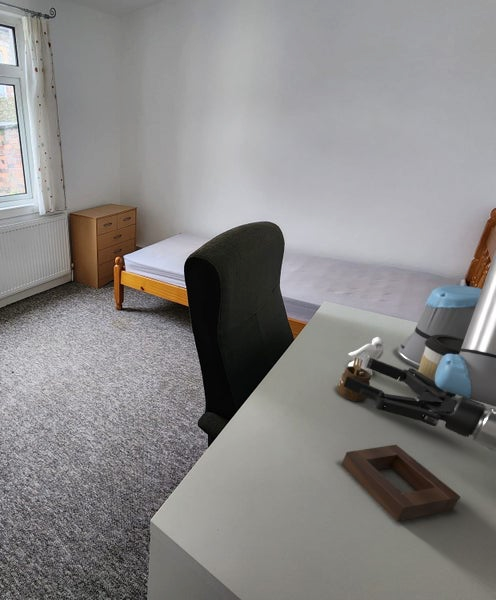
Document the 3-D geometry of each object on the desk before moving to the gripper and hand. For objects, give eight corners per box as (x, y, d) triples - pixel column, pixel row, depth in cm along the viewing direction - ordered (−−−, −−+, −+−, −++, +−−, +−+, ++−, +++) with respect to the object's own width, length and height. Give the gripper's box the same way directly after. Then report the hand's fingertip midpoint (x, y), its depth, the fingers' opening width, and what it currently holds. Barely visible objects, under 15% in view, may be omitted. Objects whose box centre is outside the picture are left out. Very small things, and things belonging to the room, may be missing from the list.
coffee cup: (467, 408, 82) (497, 356, 76) (420, 403, 84) (446, 351, 78) (438, 384, 91) (463, 335, 85) (397, 379, 93) (418, 331, 87)
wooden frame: (389, 457, 69) (396, 444, 68) (452, 510, 59) (461, 496, 57) (341, 464, 67) (346, 451, 66) (396, 521, 57) (404, 507, 56)
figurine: (352, 376, 94) (366, 339, 89) (338, 360, 101) (350, 325, 96) (382, 379, 93) (398, 341, 88) (366, 363, 100) (380, 327, 95)
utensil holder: (368, 396, 86) (384, 356, 81) (357, 405, 83) (373, 364, 78) (342, 384, 91) (356, 345, 86) (331, 392, 88) (345, 353, 83)
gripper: (454, 466, 63) (330, 402, 79) (483, 412, 76) (372, 367, 92) (473, 436, 60) (339, 376, 76) (499, 385, 73) (381, 343, 89)
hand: (357, 371), depth 84 cm, fingers open, 13 cm apart
